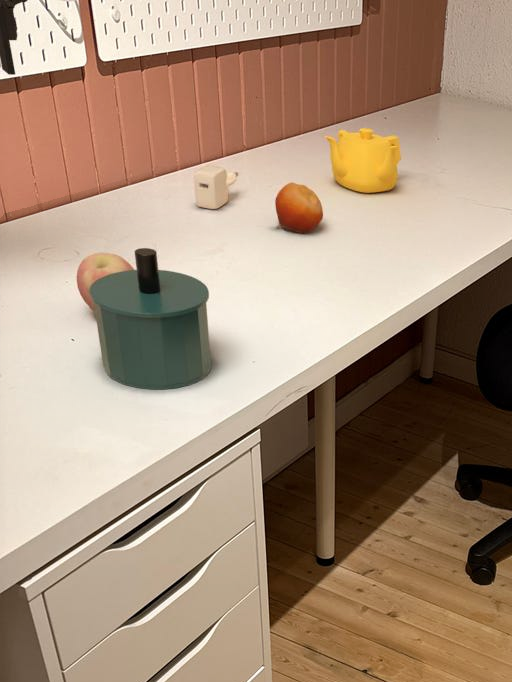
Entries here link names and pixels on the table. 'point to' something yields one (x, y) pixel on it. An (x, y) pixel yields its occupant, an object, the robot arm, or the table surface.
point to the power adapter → (212, 186)
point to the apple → (98, 272)
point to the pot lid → (148, 290)
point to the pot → (155, 348)
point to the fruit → (298, 208)
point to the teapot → (365, 160)
